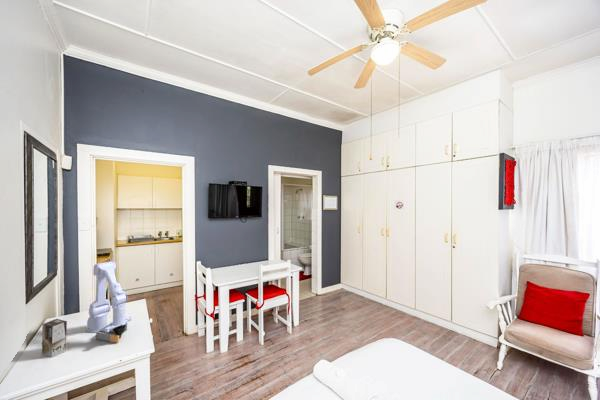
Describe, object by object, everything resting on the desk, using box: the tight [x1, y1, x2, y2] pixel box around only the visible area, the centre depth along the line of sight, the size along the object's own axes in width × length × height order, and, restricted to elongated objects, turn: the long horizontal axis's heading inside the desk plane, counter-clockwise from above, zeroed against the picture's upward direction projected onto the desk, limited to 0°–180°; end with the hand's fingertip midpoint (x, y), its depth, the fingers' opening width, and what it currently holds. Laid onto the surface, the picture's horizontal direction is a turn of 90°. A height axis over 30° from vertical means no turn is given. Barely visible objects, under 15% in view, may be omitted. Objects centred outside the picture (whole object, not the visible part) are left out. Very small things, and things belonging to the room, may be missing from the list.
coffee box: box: [41, 318, 68, 358], centre depth 131 cm, size 9×6×16 cm
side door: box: [95, 332, 120, 344], centre depth 142 cm, size 16×1×4 cm, turn 76°
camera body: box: [98, 322, 128, 335], centre depth 149 cm, size 11×10×5 cm
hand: (118, 338), depth 142 cm, fingers closed
